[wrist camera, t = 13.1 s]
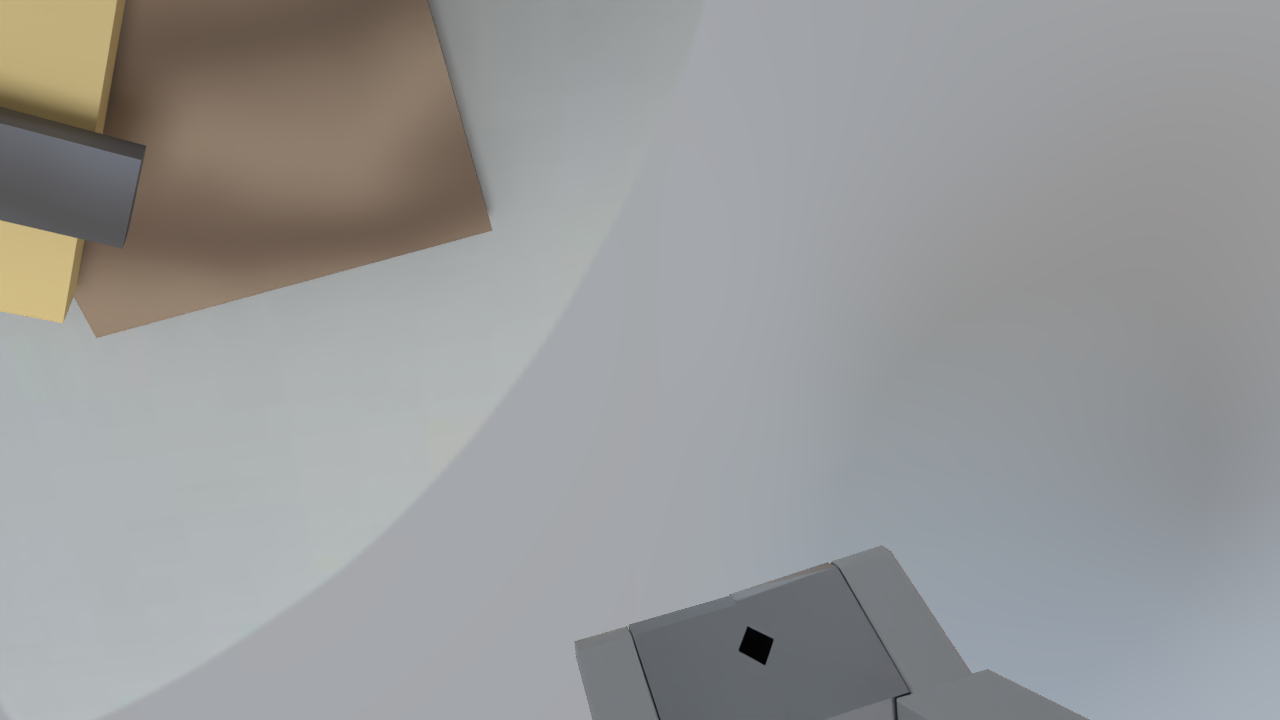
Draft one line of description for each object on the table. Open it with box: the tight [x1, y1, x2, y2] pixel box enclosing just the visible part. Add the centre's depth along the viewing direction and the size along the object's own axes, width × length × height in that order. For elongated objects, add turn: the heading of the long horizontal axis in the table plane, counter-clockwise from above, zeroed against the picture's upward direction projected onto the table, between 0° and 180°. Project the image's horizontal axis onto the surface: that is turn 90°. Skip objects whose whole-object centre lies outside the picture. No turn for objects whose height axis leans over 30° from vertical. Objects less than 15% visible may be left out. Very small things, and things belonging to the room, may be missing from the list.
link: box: [0, 0, 126, 323], centre depth 34 cm, size 18×4×2 cm, turn 158°
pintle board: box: [0, 0, 492, 338], centre depth 34 cm, size 20×16×7 cm
